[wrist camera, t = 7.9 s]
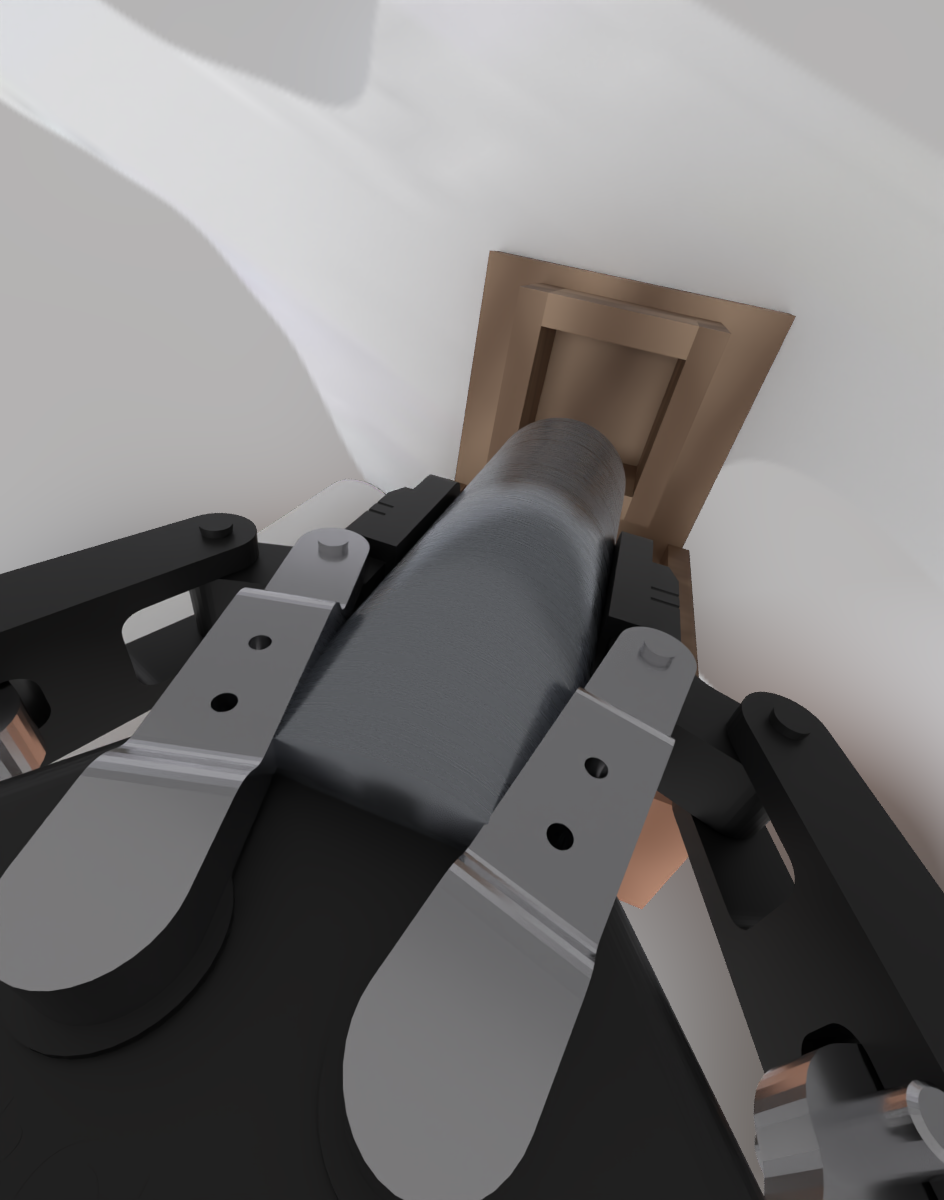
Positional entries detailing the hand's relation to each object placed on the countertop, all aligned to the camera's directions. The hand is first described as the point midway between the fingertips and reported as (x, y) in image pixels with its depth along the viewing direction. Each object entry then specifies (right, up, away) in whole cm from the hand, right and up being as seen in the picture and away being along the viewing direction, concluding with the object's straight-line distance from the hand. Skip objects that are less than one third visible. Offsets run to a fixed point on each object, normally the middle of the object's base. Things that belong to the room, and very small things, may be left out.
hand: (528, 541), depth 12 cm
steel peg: (+1, +2, +3) cm, 4 cm away
